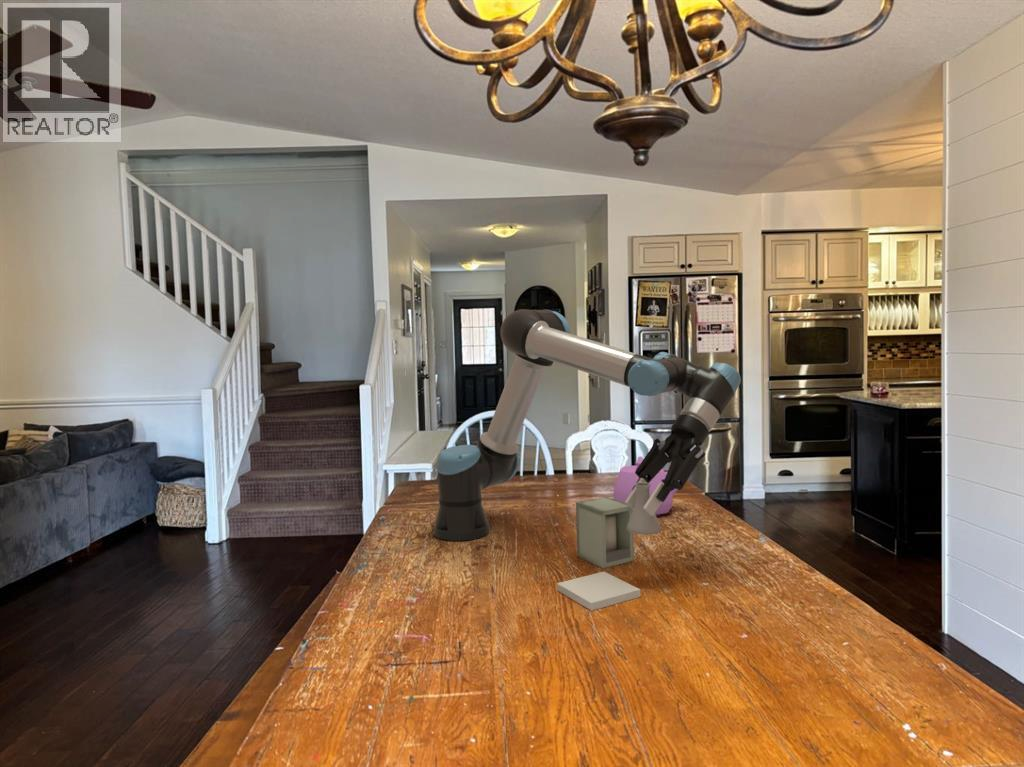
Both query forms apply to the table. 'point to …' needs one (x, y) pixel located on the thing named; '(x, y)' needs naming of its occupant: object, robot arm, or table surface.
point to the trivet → (598, 590)
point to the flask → (642, 513)
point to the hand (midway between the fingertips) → (638, 508)
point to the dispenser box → (604, 532)
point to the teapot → (629, 479)
